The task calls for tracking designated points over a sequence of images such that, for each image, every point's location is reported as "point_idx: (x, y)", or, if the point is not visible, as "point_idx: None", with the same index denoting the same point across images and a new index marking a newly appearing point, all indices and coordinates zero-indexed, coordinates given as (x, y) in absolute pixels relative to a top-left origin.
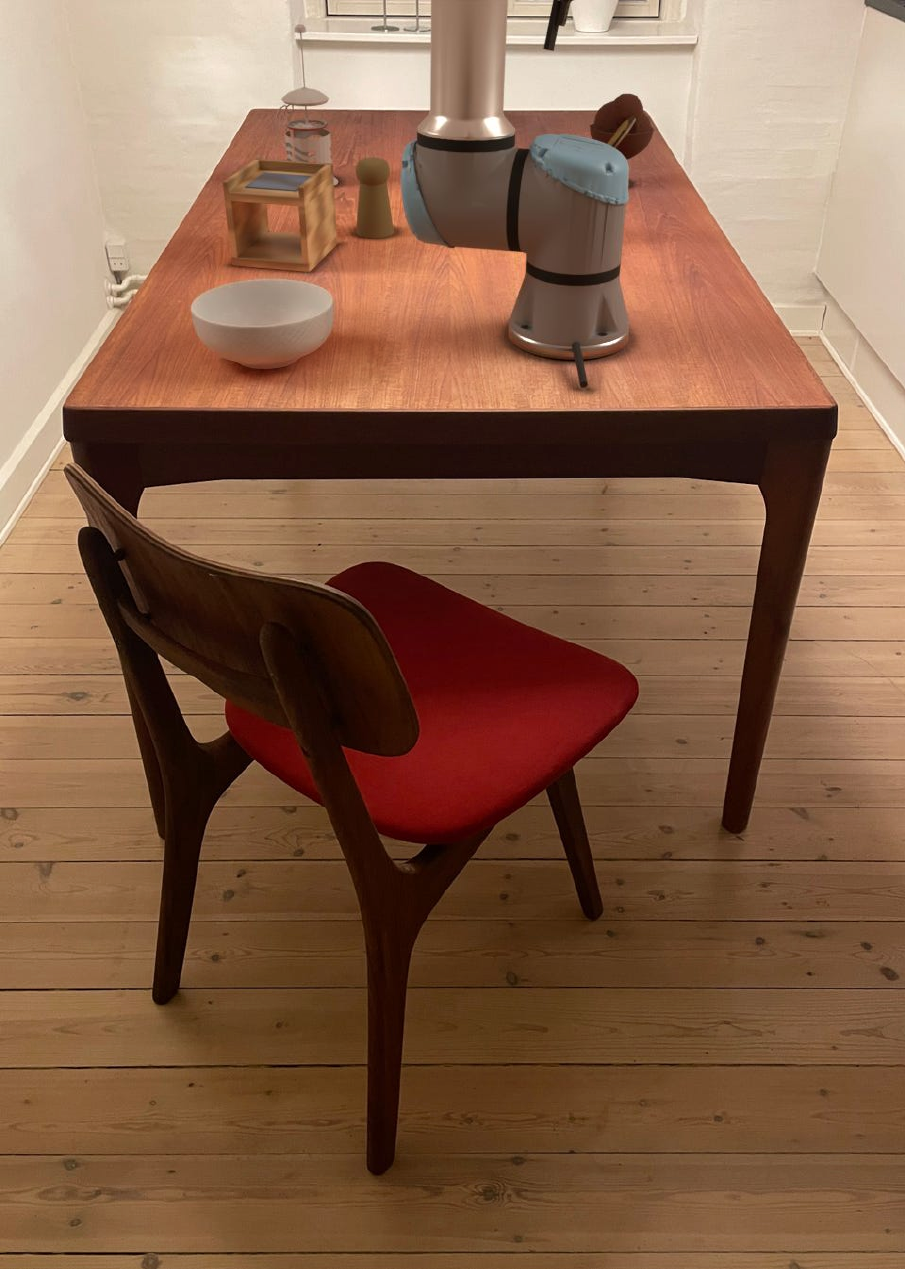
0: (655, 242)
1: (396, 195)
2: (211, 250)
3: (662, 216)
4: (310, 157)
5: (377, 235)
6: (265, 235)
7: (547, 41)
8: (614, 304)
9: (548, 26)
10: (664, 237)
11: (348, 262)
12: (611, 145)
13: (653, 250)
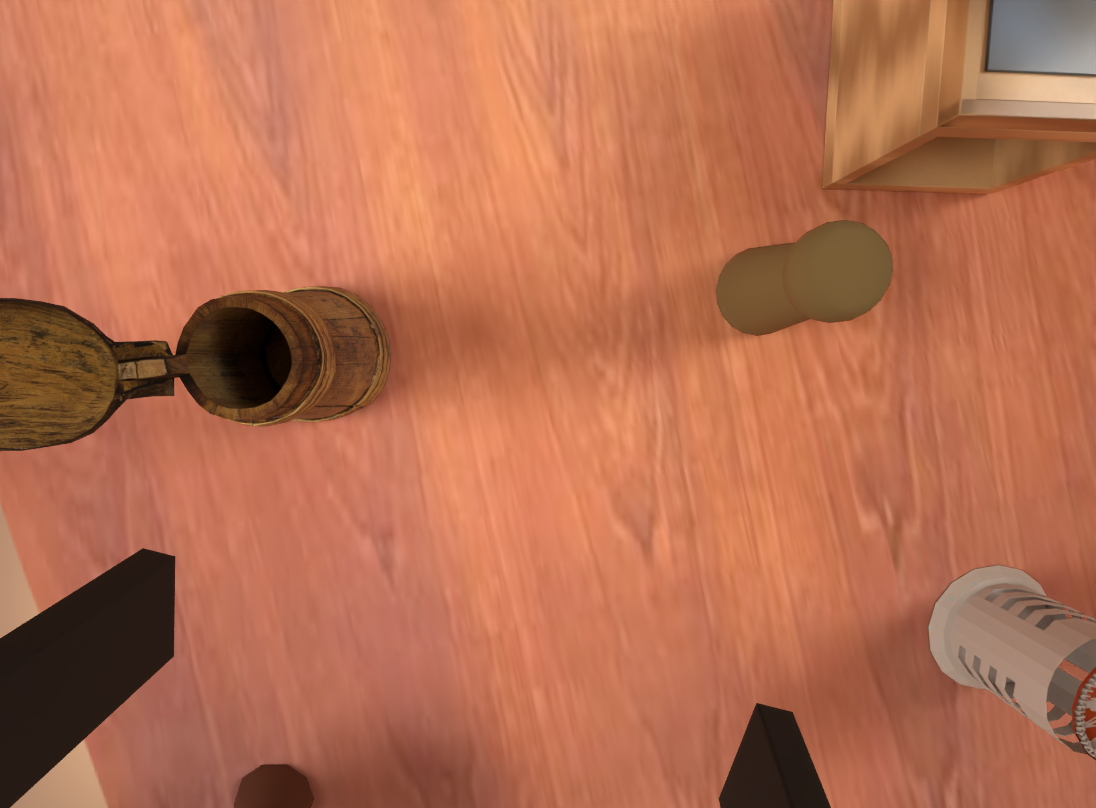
0: None
1: (773, 577)
2: None
3: None
4: (1040, 615)
5: (746, 250)
6: (989, 152)
7: (116, 579)
8: None
9: (36, 650)
10: None
11: (767, 72)
12: (47, 324)
13: (107, 310)
